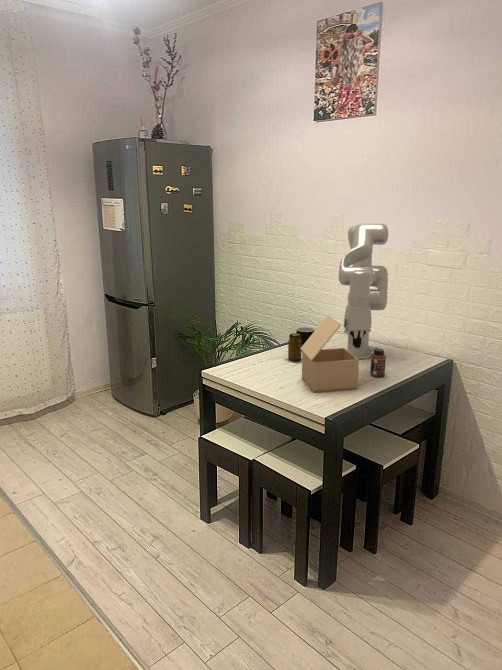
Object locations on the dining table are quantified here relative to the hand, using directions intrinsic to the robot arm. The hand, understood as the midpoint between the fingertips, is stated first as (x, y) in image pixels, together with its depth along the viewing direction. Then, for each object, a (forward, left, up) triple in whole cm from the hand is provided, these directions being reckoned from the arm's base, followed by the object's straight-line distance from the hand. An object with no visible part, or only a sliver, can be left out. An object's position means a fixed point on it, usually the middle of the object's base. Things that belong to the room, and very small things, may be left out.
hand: (356, 346), depth 205 cm
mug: (+6, -48, -15) cm, 51 cm away
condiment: (+16, -32, -15) cm, 39 cm away
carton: (+11, 0, -15) cm, 18 cm away
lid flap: (+15, 0, +5) cm, 16 cm away
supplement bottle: (-12, -5, -15) cm, 20 cm away
